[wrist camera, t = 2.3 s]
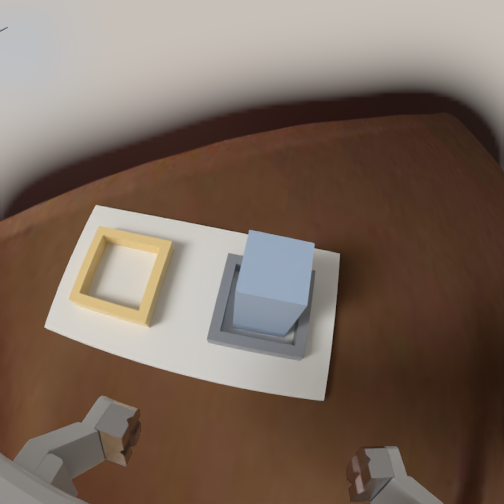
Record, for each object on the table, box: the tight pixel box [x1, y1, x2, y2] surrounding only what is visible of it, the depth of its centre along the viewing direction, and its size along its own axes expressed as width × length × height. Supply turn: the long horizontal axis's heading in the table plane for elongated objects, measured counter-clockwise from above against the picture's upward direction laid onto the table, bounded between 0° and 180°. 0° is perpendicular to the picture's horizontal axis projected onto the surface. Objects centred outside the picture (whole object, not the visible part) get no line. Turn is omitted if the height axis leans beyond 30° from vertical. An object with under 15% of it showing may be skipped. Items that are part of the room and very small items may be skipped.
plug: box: [233, 230, 315, 338], centre depth 22 cm, size 4×5×8 cm
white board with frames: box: [45, 205, 340, 401], centre depth 25 cm, size 24×13×2 cm, turn 79°
